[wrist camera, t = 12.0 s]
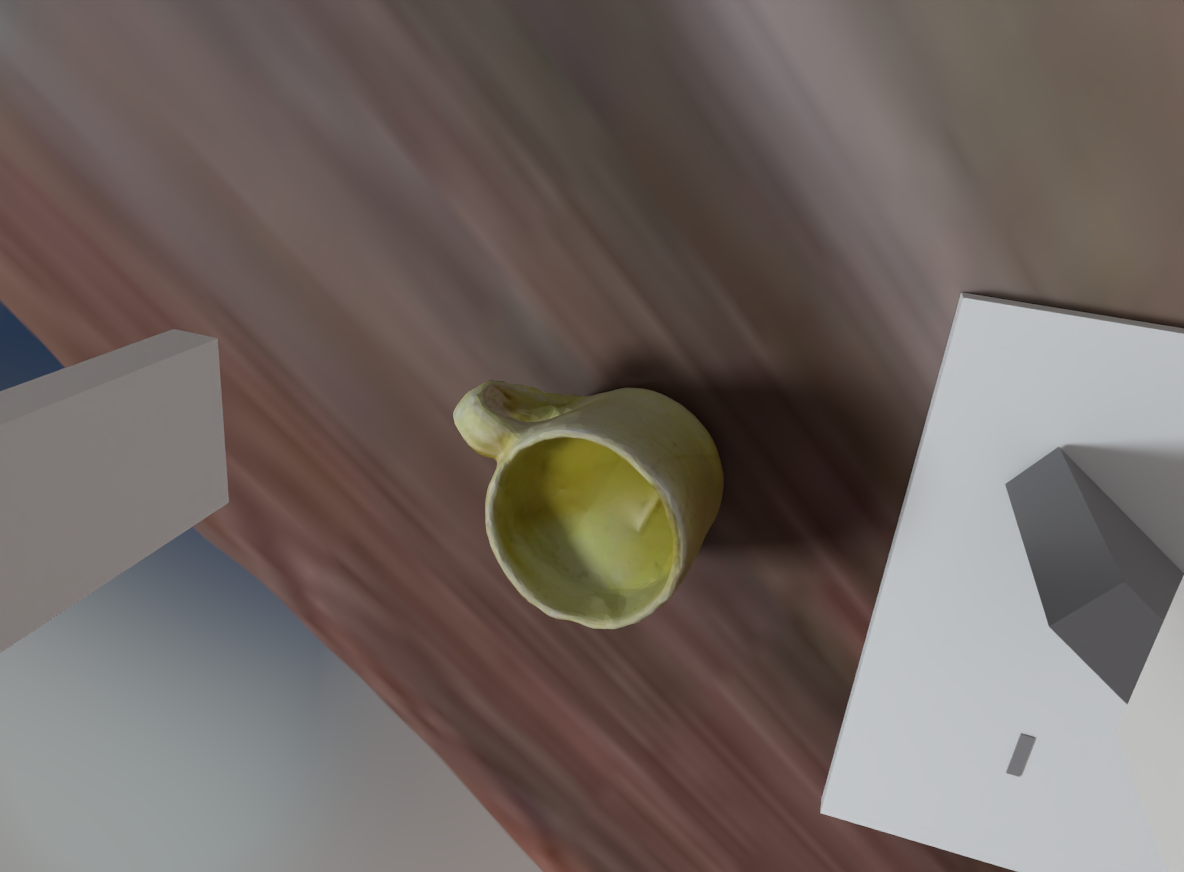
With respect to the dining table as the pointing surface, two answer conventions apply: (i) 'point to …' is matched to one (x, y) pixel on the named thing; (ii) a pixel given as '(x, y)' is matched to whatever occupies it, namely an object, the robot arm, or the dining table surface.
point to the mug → (593, 496)
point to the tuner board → (1010, 600)
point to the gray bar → (1092, 569)
